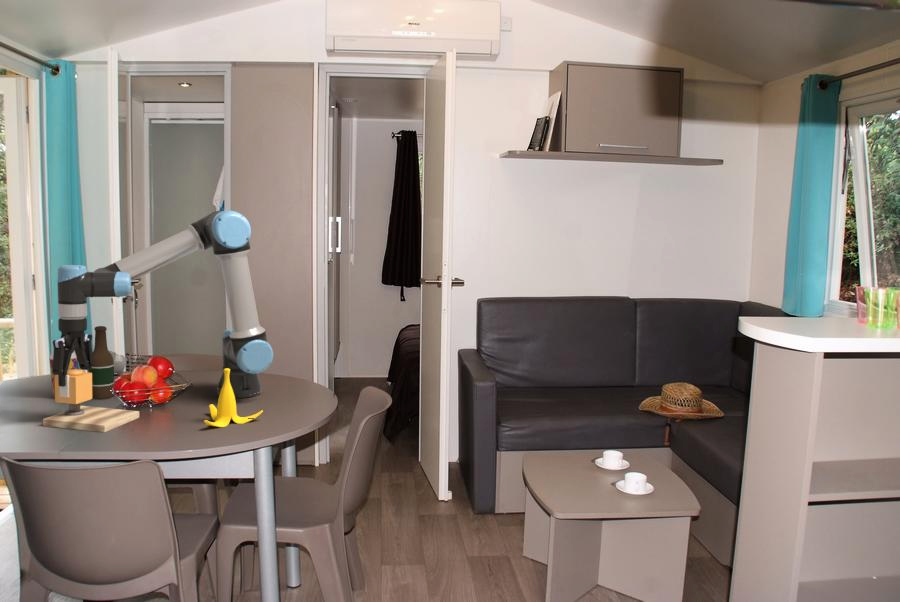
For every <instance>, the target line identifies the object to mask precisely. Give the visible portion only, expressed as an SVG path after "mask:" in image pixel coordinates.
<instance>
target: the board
mask: <svg viewBox="0 0 900 602" xmlns="http://www.w3.org/2000/svg"><path fill="white" fill-rule="evenodd" d="M137 419H140V410H139V411H138V410H130V409H129V410H128V409H121V408H120V409H119V408H118V409H117V408H109V407H100V406H99V407H97V406H86V405H81V403H78V404H68V410H65V411H62V412H60V413H56V414H54V415H51V416H49V417H45V418H42V426H43V427H50V428H60V429H69V430H77V431H78V430H80V431H88V432H97V433H106V432H110V431H111V430H113V429H116V428H119V427H120V426H123V425H126V424H127V423H130V422H133V421H135V420H137Z"/></svg>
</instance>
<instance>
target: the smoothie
mask: <svg viewBox="0 0 900 602" xmlns="http://www.w3.org/2000/svg"><path fill="white" fill-rule="evenodd" d="M68 350H69V349H68ZM53 354H54V350H53V351H52V352H51V353H50V356H49V357H48V358H49V369H50V370H49V371H50V378H51V388H52V390H51V391H52V394H53V396H54V397H55V374H53V373H52V368H53ZM70 369H78V360H77V357H76V353H75V350H74V352H73V353H72V355H71V359H70V363H69V368H68V370H70Z"/></svg>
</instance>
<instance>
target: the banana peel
mask: <svg viewBox="0 0 900 602" xmlns="http://www.w3.org/2000/svg"><path fill="white" fill-rule="evenodd" d="M229 374H230V369H229V368H226V369H224V376H225V377H224V384H223V386H222V389H221V392H220V395H218V396H219V397H218V399H217V406H215V405H214V404H213V403H212V404H209V405H208V408H209V413H210V417H211V419H212V420H213V421H209V420H207V419H204V420H203V422H204V424H205V425H206V426H211V427H218V428H224V427H228V425H229V424H230V422H231V420H232V421H233V422H234V424H235V423H236V424H237V425H239V424H246V423H249V422H251V421H253V420H254V419H256V418H257V417H259V416H260V415H261V414H262V413H263V412H264V410H263V409H262V410H260V411H259V412H256V413H255V414H252V415H248V416H243V417H242V416H239V415H238V413H237V412H238V411H237V401H236V398H235V396H234V393H233V390H232V387H231V384H230V380H229ZM248 418H254V419H248Z"/></svg>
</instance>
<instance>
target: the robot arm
mask: <svg viewBox="0 0 900 602" xmlns="http://www.w3.org/2000/svg"><path fill="white" fill-rule="evenodd" d="M251 235H252V227H251V225H250V222H249V220H248V219H247V218H246V217H245V216H244V215H243V214H241V213H239V212H238V211H235V210H217V211H213V212H210V213H208V214H207V215H205V216H204V217H202V218H200V219H198V220H196V221H195V222H192V223H190V224H188V227H187V228H186V229H185V230H183V231H180V232H178V233H175V234H174V235H171V236H170V237H167V238H165V239H163V240H161V241H158V242H156V243H155V244H152V245H150V246H147V247H145V248H143V249H141V250H139V251H137V252H134V253H133V254H130V255H129V256H126V257H124V258H122V259H119V260H117V261H115V262H114V263H111V264H108V265H107V266H104V267H98V268H96V269H95V270H94V271H88V270H87V267H86V265H83V264H63V265H61V266H59V267H58V268H57V281H56V282H57V283H56V285H57V303H58V304H57V305H58V308H57V309H58V310H57V311H58V312H57V313H58V317H59V318H58V321H57V322H58V323H57V326H58V327H57V328H58V331H59V332H60V333H61V334H60V338H59V339H57V340H56V339H54V340H53V341H52V346H53V351H54V354H53V368H52V373H53V374H55V375H58V381H59V382H58V384H59V391H60V397H70V396H69V375H67V372H68V368H69V363H70V359H71V355H72V353H73V352H74V351H75V353H76V357H77V364H78V367H79V369H81V370H83V372H88V369H89V370H91V368H92V367H90V366H93V354H92V352H93V348H92V347H93V345H92V344H93V343H92V340H93V335H92V334H88V333H85V331H87V329H88V319H87V316H88V299H87V298H120V297H121V298H122V297H128V296H130V294H131V291H132V282H133V281H135V280H137V279H138V278H141V277H143V276H145V275H147V274H149V273H151V272H154V271H156V270H158V269H161V268H163V267H165V266H166V265H169V264H172V263H173V262H175V261H178V260H180V259H181V258H184V257H186V256H187V255H190V254H192V253H194V252H196V251H202V252H204V251H206V250H208V249H210V248H212V250H213V252H212V253H213V255H214V256H215V257H216V258H217V259H218V260H219V261H220V267H221V272H222V278H223V282H224V288H225V294H226V298H227V303H228V308H229V315H230V320H231V325H232V329H226V330H225V329H224V330H223V332H222V338H221V341H222V372H221V375H220V378H219V381H218V385H217V388H216V389H217V390H216V391H217V392H216V394H217V395H218V396H219V395H220V392H221V389H222V386H223V384H224V377H225V376H224V369H226V368H229V369H230V374H229V380H230V384H231V387H232V390H233V393H234V396H235V399H241V398H242V399H243V398H251V397H256V396H259V395H261V394H262V392H263V391H262V390H263V389H262V383H261V380H260V378H259V374H261V373H263V372H265V370H267V369H268V368H269V367H270V365H271V364H272V362H273V359H274V351H273V347H272V346H271V344H270V343H269V342H268V338H267V333H266V329H265V328H264V327H262V326H261V325H260V320H259V315H258V310H257V303H256V300H255V293H254V292H255V291H254V288H253V283H252V282H253V281H252V275H251V271H250V264H249V259H248V254H249V253H250V251H251V250H252V249H251V244H250V238H251ZM68 349H69V350H68ZM88 361H89V362H88ZM260 391H261V392H260ZM257 392H259V393H257ZM254 393H256V394H254ZM250 394H251V395H250Z"/></svg>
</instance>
